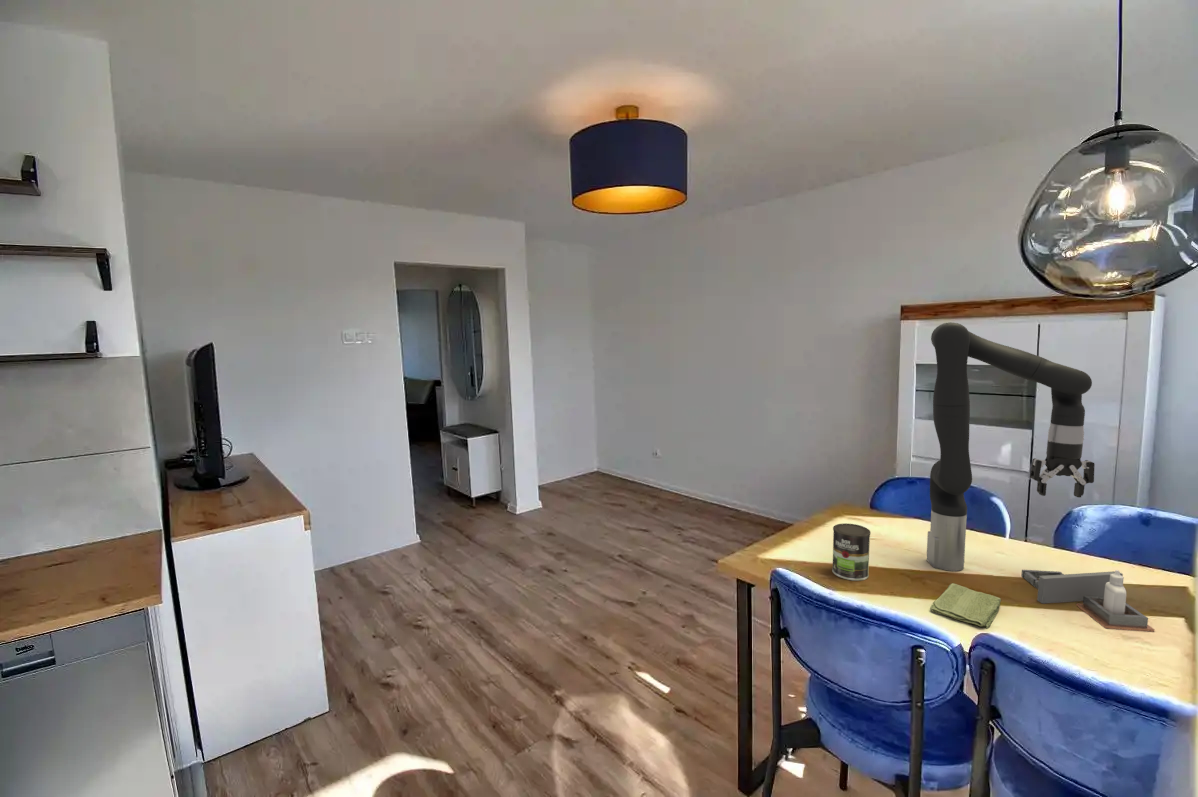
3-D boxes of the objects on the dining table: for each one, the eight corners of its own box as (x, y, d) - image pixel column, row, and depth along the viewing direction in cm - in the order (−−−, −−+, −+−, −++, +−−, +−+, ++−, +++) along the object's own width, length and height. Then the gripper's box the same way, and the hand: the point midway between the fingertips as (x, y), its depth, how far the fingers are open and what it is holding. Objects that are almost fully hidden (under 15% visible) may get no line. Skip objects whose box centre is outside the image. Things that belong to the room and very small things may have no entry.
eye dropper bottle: (1098, 616, 136) (1103, 571, 134) (1104, 608, 139) (1108, 564, 137) (1122, 623, 132) (1127, 577, 131) (1127, 615, 136) (1131, 570, 134)
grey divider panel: (1042, 603, 144) (1044, 578, 143) (1037, 600, 145) (1039, 576, 144) (1120, 598, 145) (1122, 573, 144) (1114, 595, 146) (1116, 571, 145)
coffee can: (862, 584, 158) (864, 538, 156) (827, 574, 165) (827, 530, 163) (873, 571, 165) (875, 528, 163) (839, 562, 172) (839, 520, 170)
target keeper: (1105, 628, 131) (1106, 616, 131) (1076, 605, 142) (1077, 594, 142) (1154, 631, 129) (1155, 619, 129) (1121, 608, 140) (1122, 597, 139)
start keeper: (1036, 588, 151) (1036, 581, 151) (1021, 575, 159) (1021, 569, 159) (1077, 591, 149) (1077, 584, 149) (1059, 578, 157) (1060, 571, 157)
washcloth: (927, 613, 142) (928, 602, 141) (949, 590, 153) (949, 579, 153) (987, 633, 132) (988, 621, 131) (1005, 607, 143) (1006, 595, 143)
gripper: (1086, 438, 152) (1080, 493, 154) (1028, 436, 156) (1023, 490, 158) (1104, 443, 145) (1097, 501, 147) (1042, 442, 148) (1037, 498, 151)
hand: (1059, 495), depth 152 cm, fingers open, 8 cm apart
